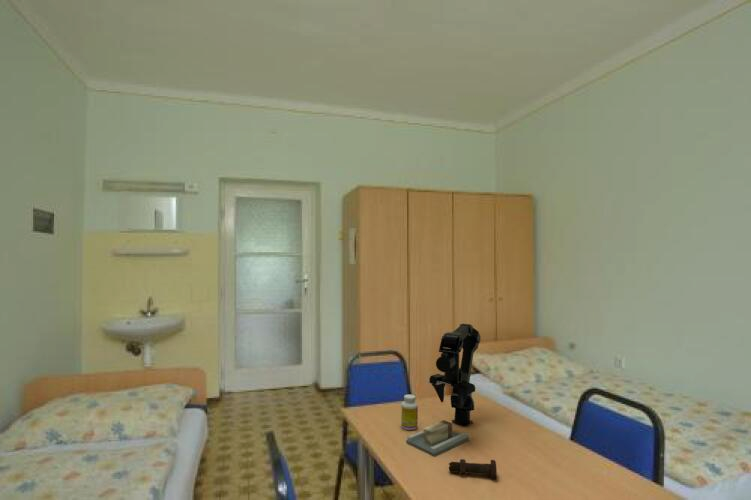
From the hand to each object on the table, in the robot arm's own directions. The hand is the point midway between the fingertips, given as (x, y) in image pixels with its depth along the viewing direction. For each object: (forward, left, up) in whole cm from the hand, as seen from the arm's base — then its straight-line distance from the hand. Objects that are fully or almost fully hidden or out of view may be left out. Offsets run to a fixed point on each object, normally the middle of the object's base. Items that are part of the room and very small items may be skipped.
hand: (451, 405), depth 168 cm
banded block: (+8, 0, -11) cm, 14 cm away
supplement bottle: (+7, -16, -12) cm, 21 cm away
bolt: (+18, +23, -12) cm, 31 cm away
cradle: (+8, 0, -12) cm, 14 cm away
